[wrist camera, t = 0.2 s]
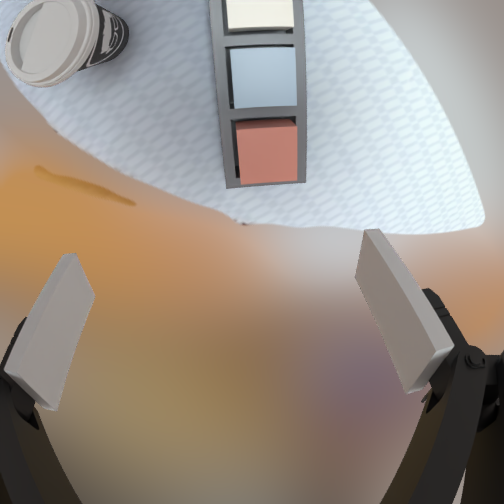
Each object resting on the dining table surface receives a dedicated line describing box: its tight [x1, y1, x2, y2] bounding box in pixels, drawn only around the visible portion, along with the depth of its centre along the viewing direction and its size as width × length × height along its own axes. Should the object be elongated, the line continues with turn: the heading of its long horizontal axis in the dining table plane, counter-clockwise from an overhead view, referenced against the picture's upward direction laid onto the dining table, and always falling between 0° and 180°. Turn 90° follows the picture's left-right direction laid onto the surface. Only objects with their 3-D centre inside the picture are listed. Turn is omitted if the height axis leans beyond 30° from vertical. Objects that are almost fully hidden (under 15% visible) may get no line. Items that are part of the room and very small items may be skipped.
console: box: [209, 0, 307, 189], centre depth 29 cm, size 26×9×5 cm, turn 3°
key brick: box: [236, 119, 297, 185], centre depth 31 cm, size 6×6×4 cm
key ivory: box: [226, 0, 294, 32], centre depth 21 cm, size 6×6×4 cm
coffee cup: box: [5, 0, 129, 87], centre depth 20 cm, size 10×10×15 cm
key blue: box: [230, 47, 297, 109], centre depth 26 cm, size 6×6×4 cm
